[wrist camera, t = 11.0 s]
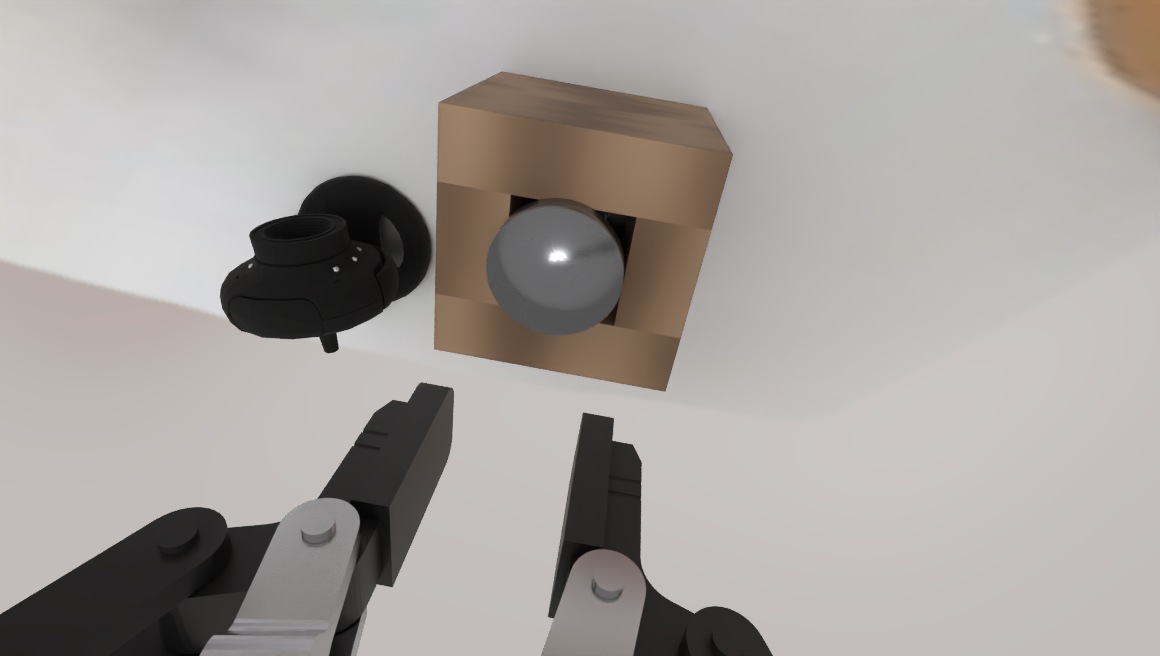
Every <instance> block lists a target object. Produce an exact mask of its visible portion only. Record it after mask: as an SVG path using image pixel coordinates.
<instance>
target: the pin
mask: <svg viewBox="0 0 1160 656" xmlns="http://www.w3.org/2000/svg"><path fill="white" fill-rule="evenodd" d="M607 215H608V212H605V211H599V210H594V209H592V208H591V207H589V206H587V205H585V204H582V203H580V202H577V201H573V200H570V199H563V198H547V199H540V200H537V201H533V202H531V203H528V204H526V205H524V206H522V207H521V208H519V209H517V210H516V211H515V212H514V213H513V214H511V215H510V217H509V218H508V219H507V220H506V221H505V222H504V224H503V225H502V227H501V228H500V230H499V231H498V233H497V235H496V236H495V238H494V239H493V241H492V243H491V245H490V248H489V251H488V255H487V261H486V274H487V280H488V284H489V287H490V290H491V292H492V295H493V296H494V298H495V300H496V302H497V303H498V304H499V306H500V307H501V308H502V309H503V311H504V312H505V313H506V314H507V315H508V316H510V317H511V318H512V319H513V320H515V321H516V322H518V323H519V324H521V325H522V326H524V327H526V328H528V329H531V330H534V331H536V332H540V333H544V334H550V335H569V334H575V333H579V332H582V331H585V330H587V329H589V328H591V327H594V326H595V325H597V324H598V323H600V322H601V321H602V320H603V319H604V318H606V317H607V316H608V314H609V313H610V312H611V311H612V310H613V308H614V307H615V305H616V303H617V301H618V299H619V297H620V294H621V290H622V285H623V277H624V252H623V248H622V245H621V242H620V239H619V237H618V235H617V233H616V232H615V230H614V228H613V227H612V226H611V224H610V223H609V222H608V221H607Z"/></svg>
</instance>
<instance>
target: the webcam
mask: <svg viewBox="0 0 1160 656" xmlns="http://www.w3.org/2000/svg"><path fill="white" fill-rule="evenodd" d="M382 215H383V216H385V217H386V218H387V219H389V220H390V221H391V222H392V224H393V225H394V226H395V228H396V229H397V231H398V233H399V234H400V237H401V239H402V242H403V248H404V258H403V262H402V264H401V266H400V268H399V269H398V271H397V269H396V265H395V262H394V261H393V259H392V258H391V257H390V255H389V254H388V253H386V252H385V251H384V250H382V249H381V243H380V237H379V223H378V222H379V219H380V217H381V216H382ZM249 236H250V240H251V243H252V246H253V249H254V253H255V256H254V257H253V258H251V259H249V260H248V261H246V262H244V263H242V264H241V265H239V266H238V267H236V268H235V269H234V270H232V271H231V272H230V273H229V274H228V276H227V277H226V279H225V281H224V282H223V284H222V287H221V292H220V299H221V304H222V309H223V310H224V312H225V314H226V316H227V317H228V319H229V321H230V322H231V323H232V324H233V325H235V326H236V327H237V328H238V329H239V330H241V331H244V332H248V333H251V334H254V335H257V336H260V337H265V338H280V339H300V338H310V337H319V338H320V340H321V343H322V346H323V348H324V351H325V352H326V353H333V352H335V351H337V350H338V349H339V347H338V341H337V334H336V333H337V332H341V331H344V330H348V329H351V328H353V327H355V326H357V325H359V324H362V323H364V322H366V321H368V320H370V319H372V318H373V317H375V316H377V315H378V314H380V313H382V312H383V309H385V308H387V307H388V306H389V305H390V303H391V302H392V301H395V300H398V299H400V298H402V297H405V296H406V295H408V294H409V293H410V292H412V291H413V290H414V289H415V288H416V287H417V286H418V285H419V284H420V282H421V281H422V279H423V278H424V277H425V274H426V271H427V268H428V265H429V261H430V242H429V238H428V234H427V231H426V228H425V226H424V224H423V222H422V220H421V218H420V216H419V214H418V213H417V212H416V210H415V209H414V208H413V206H412V205H411V204H410V203H409V202H408V201H407V200H405V199H404V198H403V197H402V196H400V195H399V194H398V193H396V192H395V191H394V190H393V189H391V188H390V187H389V186H388V185H385V184H383V183H380V182H377V181H375V180H372V179H368V178H364V177H356V176H347V177H337V178H334V179H330V180H327V181H326V182H324V183H322V184H320V185H318V186H317V187H316V188H314V190H313V191H312V192H311V193H310V194H309V195H308V196H307V197H306V198H305V200H304V201H303V203H302V205H301V208H300V210H299V213H298V215H294V216H288V217H283V218H279V219H275V220H272V221H269V222H266V223H264V224H262V225H260V226H258V227H256V228H255V229H253V230H252V231H251V232H250V235H249Z"/></svg>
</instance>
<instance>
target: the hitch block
mask: <svg viewBox="0 0 1160 656" xmlns="http://www.w3.org/2000/svg"><path fill="white" fill-rule="evenodd" d="M732 156H733V154H732V152H731V150H730V149H729V147H728V145H727V143H726V141H725V140H724V138H723V136H722V134H721V132H720V131H719V129H718V127H717V125H716V123H715V122H714V120H713V118H712V116H711V114H710V113H709V111H708V109H707V108H705V107H699V106H693V105H688V104H682V103H676V102H671V101H665V100H659V99H654V98H648V97H642V96H637V95H631V94H625V93H620V92H614V91H608V90H603V89H597V88H591V87H586V86H580V85H574V84H569V83H563V82H557V81H552V80H546V79H540V78H535V77H529V76H523V75H517V74H512V73H506V72H500V73H498V74H496V75H494V76H492V77H490V78H488V79H486V80H484V81H482V82H480V83H478V84H476V85H473V86H471V87H469V88H467V89H465V90H463V91H461V92H459V93H457V94H455V95H453V96H451V97H449V98H447V99H445V100H443V101H441V102H439V106H438V163H437V220H436V276H435V333H434V349H436V350H441V351H447V352H452V353H458V354H463V355H469V356H474V357H480V358H485V359H490V360H496V361H501V362H507V363H512V364H518V365H523V366H529V367H534V368H540V369H545V370H550V371H556V372H561V373H567V374H572V375H578V376H583V377H589V378H594V379H599V380H605V381H610V382H616V383H621V384H627V385H632V386H638V387H643V388H649V389H654V390H659V391H666V388H667V384H668V381H669V377H670V374H671V370H672V367H673V363H674V360H675V356H676V353H677V349H678V345H679V342H680V338H681V335H682V331H683V328H684V324H685V321H686V317H687V314H688V310H689V307H690V303H691V300H692V296H693V293H694V289H695V286H696V282H697V279H698V275H699V272H700V268H701V265H702V261H703V258H704V254H705V251H706V247H707V244H708V240H709V237H710V233H711V230H712V226H713V223H714V219H715V216H716V212H717V209H718V205H719V202H720V198H721V195H722V191H723V188H724V184H725V181H726V177H727V174H728V170H729V167H730V163H731V160H732ZM547 198H563V199H570V200H573V201H577V202H580V203H582V204H585V205H587V206H589V207H591V208H592V209H594V210H599V211H605V212H611V213H616V214H622V215H627V216H628V217H627V222H626V227H625V232H624V237H623V239H620V242H621V245H622V248H623V252H624V277H623V285H622V290H621V294H620V297H619V299H618V301H617V303H616V305H615V307H614V308H613V310H612V311H611V312H610V313H609V314H608V316H607V317H606V318H604V319H603V320H602V321H601V322H600V323H598V324H597V325H595V326H594V327H591V328H589V329H587V330H585V331H582V332H579V333H575V334H569V335H550V334H544V333H540V332H536V331H534V330H531V329H528V328H526V327H524V326H522V325H521V324H519V323H518V322H516V321H515V320H513V319H512V318H511V317H510V316H508V315H507V314H506V313H505V312H504V311H503V309H502V308H501V307H500V306H499V304H498V303H497V302H496V300H495V298H494V296H493V295H492V292H491V290H490V287H489V284H488V280H487V274H486V261H487V255H488V251H489V248H490V245H491V243H492V241H493V239H494V238H495V236H496V235H497V233H498V231H499V230H500V228H501V227H502V225H503V224H504V222H505V221H506V220H507V219H508V218H509V217H510V215H511V214H513V213H514V212H515V211H516V210H517V209H519V208H521V207H522V206H524V205H526V204H528V203H531V202H533V201H537V200H540V199H547Z"/></svg>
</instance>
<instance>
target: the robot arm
mask: <svg viewBox="0 0 1160 656" xmlns="http://www.w3.org/2000/svg"><path fill="white" fill-rule="evenodd" d="M453 404H454V391H453V389H452V388H449V387H443V386H438V385H433V384H427V383H420V384H419V385H418V386H417V388H416V390H415V391H414V393H413V394H412V396H411V398H410V399H409V401H408V403H407V402H401V401H396V400H392V401H391V402H389V403H388V404H386V405H385V406H384V407H382V408H381V409H379V410H378V411H376V412H375V413H374V414H373V416H372V417H371V419H370V420H369V422H368V424H367V425H366V426H365V428H364V431H363V433H361V434H360V435H359V437H358V439H357V440H356V441H355V444H354V446H352V448H351V449H350V451H349V452H348V454H347V455H346V457H345V458H344V460H343V461H342V463H341V464H340V466H339V467H338V469H337V470H336V472H335V473H334V475H333V476H332V478H331V479H330V481H329V482H328V484H327V485H326V487H325V488H324V490H323V491H322V493H321V494H320V496H319V497H318V498H317V499H315V500H312V501H308V502H306V503H303V504H301V505H299V506H297V507H296V508H294V509H293V510H292V511H290V512H289V513H288V514H287V515H286V516H285V517H284V518H283V519H282V521H281V522H277V523H272V524H265V525H255V526H243V527H232V528H227V524H226V521H225V519H224V517H223V516H222V515H221V514H220V513H218V512H216V511H215V510H211V509H209V508H202V507H194V508H186V509H181V510H177V511H174V512H171V513H169V514H166V515H164V516H162V517H160V518H158V519H156V520H154V521H153V522H151V523H149V524H148V525H146V526H145V527H143V528H142V529H140V530H138V531H136V532H135V533H133V534H131V535H130V536H128V537H126V538H125V539H123V540H122V541H120V542H119V543H117V544H115V545H113V546H112V547H110V548H108V549H107V550H105V551H103V552H102V553H101V554H99V555H97V556H95V557H94V558H92V559H90V560H89V561H87V562H85V563H84V564H82V565H80V566H79V567H77V568H76V569H74V570H72V571H71V572H69V573H67V574H66V575H64V576H62V577H61V578H59V579H58V580H56V581H54V582H53V583H51V584H49V585H48V586H46V587H44V588H43V589H41V590H39V591H38V592H36V593H35V594H33V595H31V596H30V597H28V598H26V599H25V600H23V601H21V602H20V603H18V604H16V605H15V606H13V607H12V608H10V609H9V610H7V611H5V612H3V613H2V614H0V656H356V655H357V651H358V647H359V643H360V639H361V635H362V631H363V628H364V624H365V620H366V615H367V604H368V602H369V600H370V598H371V596H372V593H373V591H374V589H375V587H376V584H379V585H384V586H389V587H393V585H394V582H395V580H396V578H397V576H398V573H399V571H400V569H401V566H402V564H403V562H404V559H405V557H406V555H407V552H408V550H409V548H410V546H411V543H412V541H413V539H414V536H415V534H416V532H417V529H418V527H419V525H420V523H421V520H422V518H423V516H424V513H425V511H426V509H427V506H428V504H429V502H430V500H431V497H432V495H433V493H434V490H435V488H436V486H437V484H438V481H439V479H440V477H441V474H442V472H443V470H444V467H445V465H446V463H447V460H448V456H449V453H450V448H451V443H452V428H453ZM613 423H614V418H610V417H604V416H599V415H594V414H588V413H583V415H582V421H581V425H580V431H579V436H578V441H577V446H576V451H575V456H574V461H573V467H572V473H571V479H570V484H569V490H568V496H567V503H566V509H565V515H564V521H563V527H562V533H561V540H560V546H559V552H558V558H557V564H556V571H555V577H554V583H553V589H552V596H551V601H550V608H549V614H548V617H550V618H554V620H553V623H552V626H551V629H550V631H549V634H548V637H547V640H546V643H545V645H544V648H543V651H542V654H541V656H773V655H772V654H771V652H770V650H769V648H768V646H767V645H766V643H765V641H764V640H763V638H762V636H761V635H760V633H759V632H758V630H757V629H756V628H755V627H754V625H753V624H752V623H750V621H749V620H747V619H746V618H745V617H743V616H742V615H741V614H739V613H737V612H735V611H733V610H731V609H728V608H724V607H716V606H714V607H707V608H704V609H701V610H699V611H698V612H696V613H695V614H694V613H692V612H690V611H689V610H686V609H685V608H683V607H681V606H679V605H677V604H675V603H673V602H671V601H670V600H668V599H666V598H665V597H663V596H662V595H661V594H660V593H658V592H657V591H656V590H655V589H654V588H653V586H652V585H651V584H650V583H649V581H648V580H647V578H646V576H645V574H644V572H643V569H642V566H641V559H640V543H641V540H640V539H641V466H642V463H641V460H640V459H639V456H638V454H637V452H636V450H635V448H634V446H633V445H632V444H627V443H621V442H616V441H612V436H613Z"/></svg>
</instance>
